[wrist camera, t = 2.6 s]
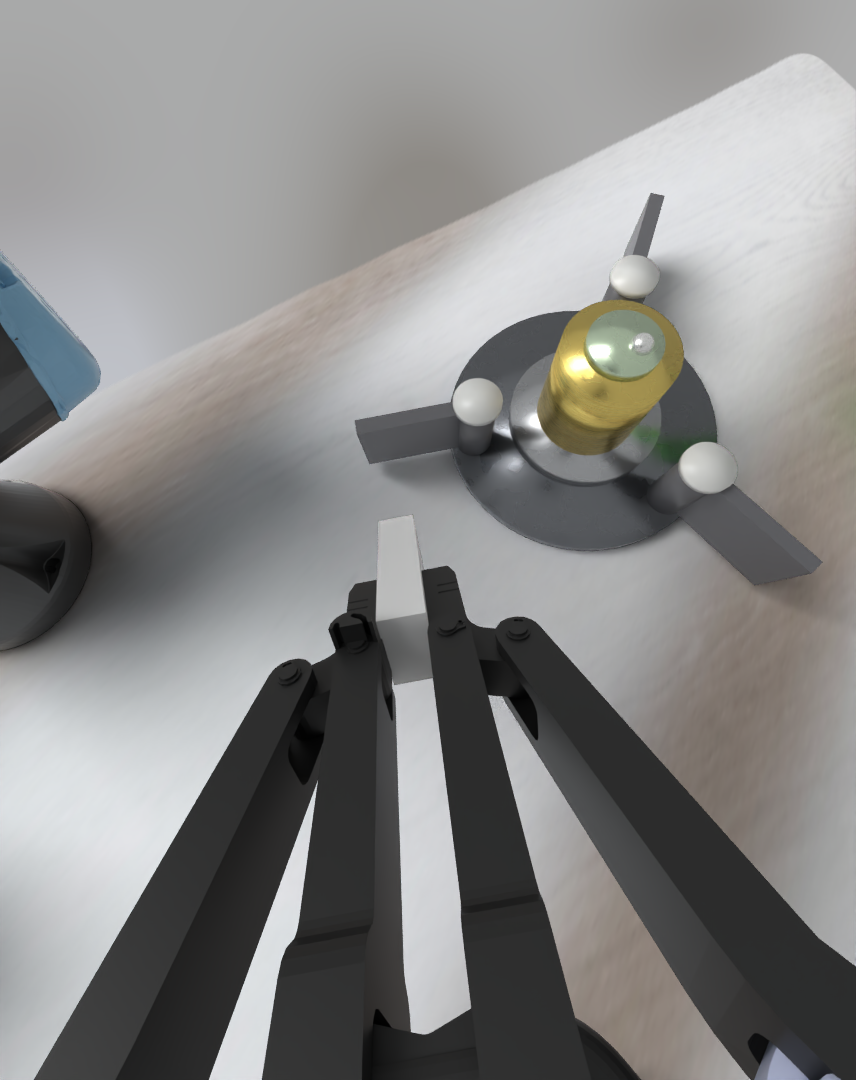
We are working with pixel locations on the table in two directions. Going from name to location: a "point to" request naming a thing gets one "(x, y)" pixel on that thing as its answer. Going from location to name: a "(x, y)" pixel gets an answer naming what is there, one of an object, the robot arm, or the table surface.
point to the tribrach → (585, 424)
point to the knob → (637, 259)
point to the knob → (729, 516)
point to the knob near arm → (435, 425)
